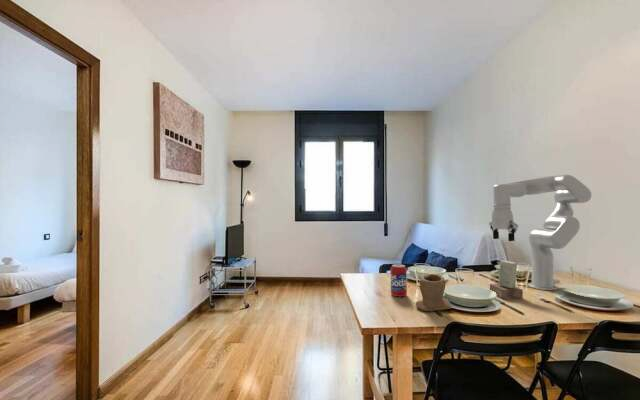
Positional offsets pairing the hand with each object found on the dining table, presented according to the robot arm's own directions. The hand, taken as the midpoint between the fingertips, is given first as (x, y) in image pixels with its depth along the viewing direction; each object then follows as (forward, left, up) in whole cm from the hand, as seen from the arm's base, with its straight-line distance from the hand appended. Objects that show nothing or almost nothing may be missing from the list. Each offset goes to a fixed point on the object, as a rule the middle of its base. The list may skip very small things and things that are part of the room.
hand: (503, 239), depth 159 cm
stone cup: (+52, +17, -27) cm, 61 cm away
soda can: (+58, -5, -27) cm, 64 cm away
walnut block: (+7, +8, -27) cm, 29 cm away
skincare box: (+7, +8, -22) cm, 24 cm away
